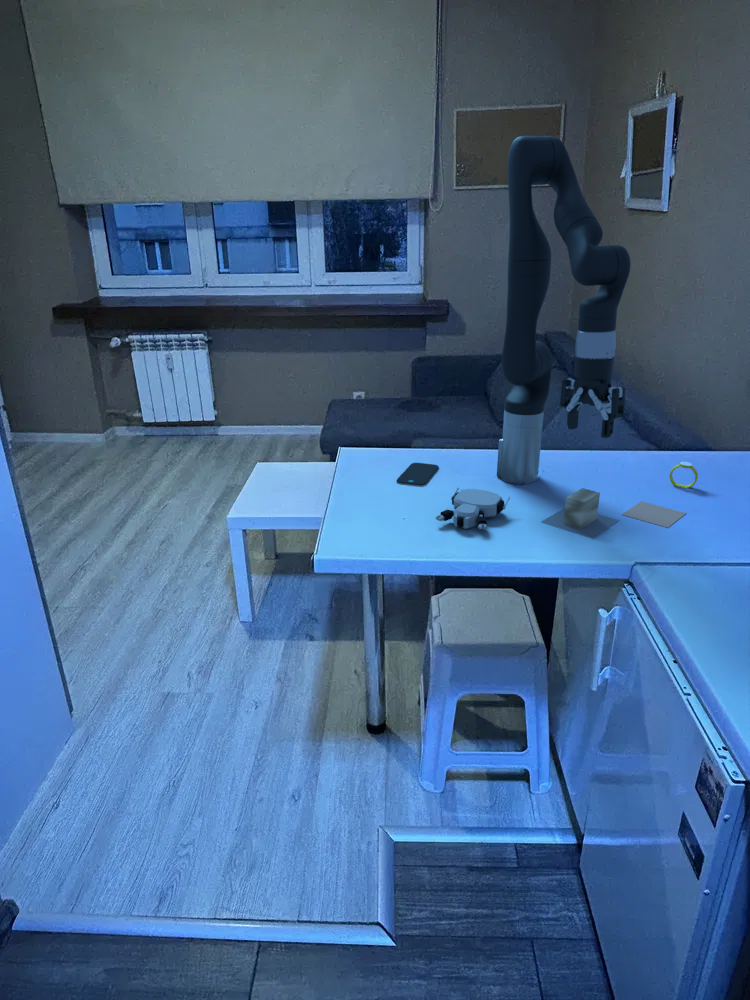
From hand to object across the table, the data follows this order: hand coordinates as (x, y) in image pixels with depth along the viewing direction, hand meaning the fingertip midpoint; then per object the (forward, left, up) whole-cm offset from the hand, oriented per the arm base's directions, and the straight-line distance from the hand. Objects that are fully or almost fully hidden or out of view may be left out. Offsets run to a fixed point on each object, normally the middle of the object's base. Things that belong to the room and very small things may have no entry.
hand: (589, 432), depth 140 cm
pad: (+12, +11, -19) cm, 25 cm away
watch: (+10, +32, -19) cm, 39 cm away
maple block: (+2, -3, -19) cm, 19 cm away
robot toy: (-16, -17, -19) cm, 30 cm away
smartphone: (-42, -4, -19) cm, 47 cm away
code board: (+2, -3, -19) cm, 19 cm away
